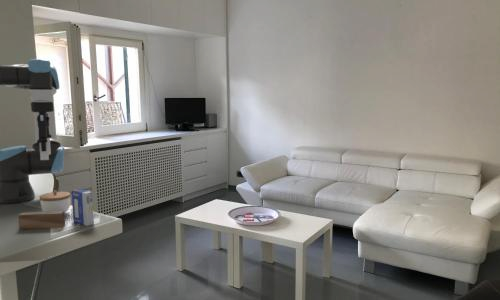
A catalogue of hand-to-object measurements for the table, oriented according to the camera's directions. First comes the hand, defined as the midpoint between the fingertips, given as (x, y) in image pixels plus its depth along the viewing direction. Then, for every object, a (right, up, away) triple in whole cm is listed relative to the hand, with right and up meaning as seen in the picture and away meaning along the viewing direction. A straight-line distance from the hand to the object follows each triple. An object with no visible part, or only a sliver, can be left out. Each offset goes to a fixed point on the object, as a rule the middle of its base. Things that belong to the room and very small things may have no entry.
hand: (45, 157), depth 154 cm
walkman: (+19, -24, -10) cm, 32 cm away
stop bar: (+6, -24, -14) cm, 29 cm away
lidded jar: (+4, -22, +1) cm, 23 cm away
